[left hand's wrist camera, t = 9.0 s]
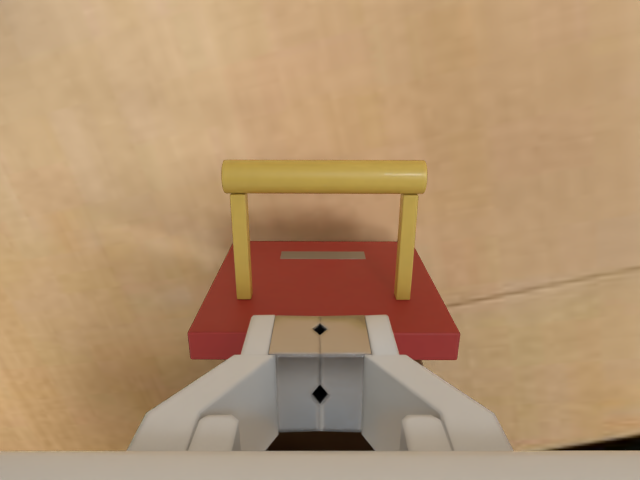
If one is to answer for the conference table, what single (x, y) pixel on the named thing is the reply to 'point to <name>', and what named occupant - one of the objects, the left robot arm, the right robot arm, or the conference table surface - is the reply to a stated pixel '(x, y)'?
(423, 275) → the drawer
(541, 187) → the conference table surface
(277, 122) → the conference table surface
